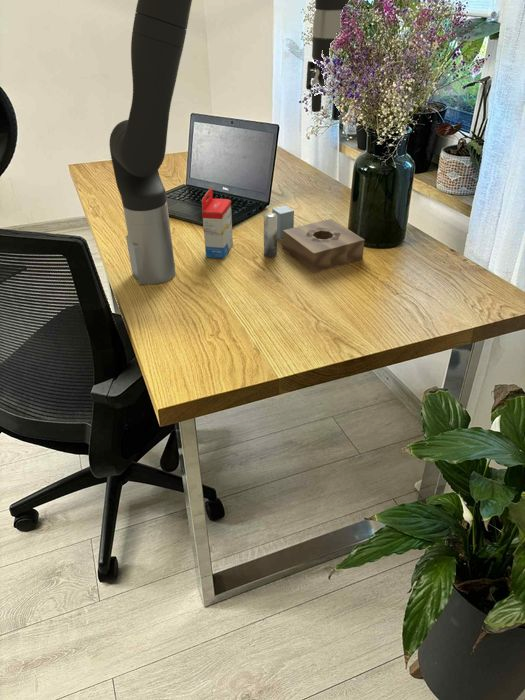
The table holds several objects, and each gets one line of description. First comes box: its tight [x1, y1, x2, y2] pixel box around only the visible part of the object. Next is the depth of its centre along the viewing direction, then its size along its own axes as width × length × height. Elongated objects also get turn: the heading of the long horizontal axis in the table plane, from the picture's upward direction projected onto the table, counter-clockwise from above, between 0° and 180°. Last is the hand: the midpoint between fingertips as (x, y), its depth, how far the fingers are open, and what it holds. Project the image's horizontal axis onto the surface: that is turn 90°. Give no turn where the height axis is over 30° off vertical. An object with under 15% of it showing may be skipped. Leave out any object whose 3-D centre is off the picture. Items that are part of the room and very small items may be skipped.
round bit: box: [263, 212, 278, 258], centre depth 129 cm, size 3×3×10 cm
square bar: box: [271, 205, 295, 241], centre depth 139 cm, size 4×4×7 cm
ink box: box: [201, 186, 234, 259], centre depth 130 cm, size 8×5×15 cm, turn 168°
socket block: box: [282, 218, 365, 274], centre depth 131 cm, size 14×14×5 cm
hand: (326, 115), depth 124 cm, fingers open, 8 cm apart
